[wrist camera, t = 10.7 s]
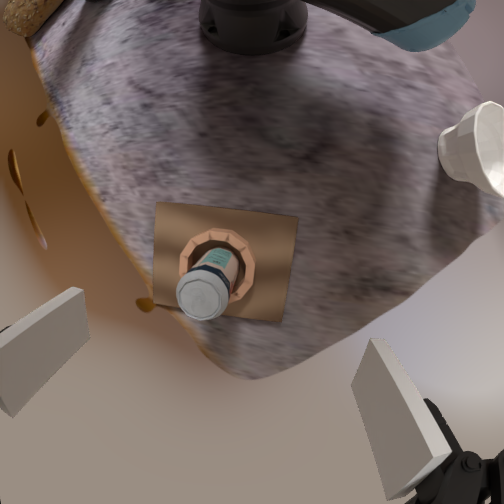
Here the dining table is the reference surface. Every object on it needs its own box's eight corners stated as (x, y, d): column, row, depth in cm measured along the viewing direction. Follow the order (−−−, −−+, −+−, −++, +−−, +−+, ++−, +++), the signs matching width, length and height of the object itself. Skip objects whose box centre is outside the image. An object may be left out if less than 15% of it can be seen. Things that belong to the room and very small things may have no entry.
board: (159, 201, 34) (156, 202, 33) (297, 217, 34) (298, 218, 33) (156, 299, 37) (153, 302, 36) (281, 318, 37) (281, 322, 36)
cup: (481, 131, 29) (525, 123, 18) (478, 202, 32) (524, 209, 21) (427, 104, 29) (470, 84, 18) (423, 183, 32) (472, 184, 21)
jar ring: (187, 224, 34) (181, 227, 31) (259, 233, 33) (258, 236, 31) (183, 291, 36) (178, 298, 33) (250, 301, 35) (249, 309, 33)
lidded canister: (209, 285, 35) (184, 329, 23) (197, 251, 34) (164, 281, 22) (244, 276, 35) (234, 318, 23) (233, 240, 34) (216, 267, 22)
